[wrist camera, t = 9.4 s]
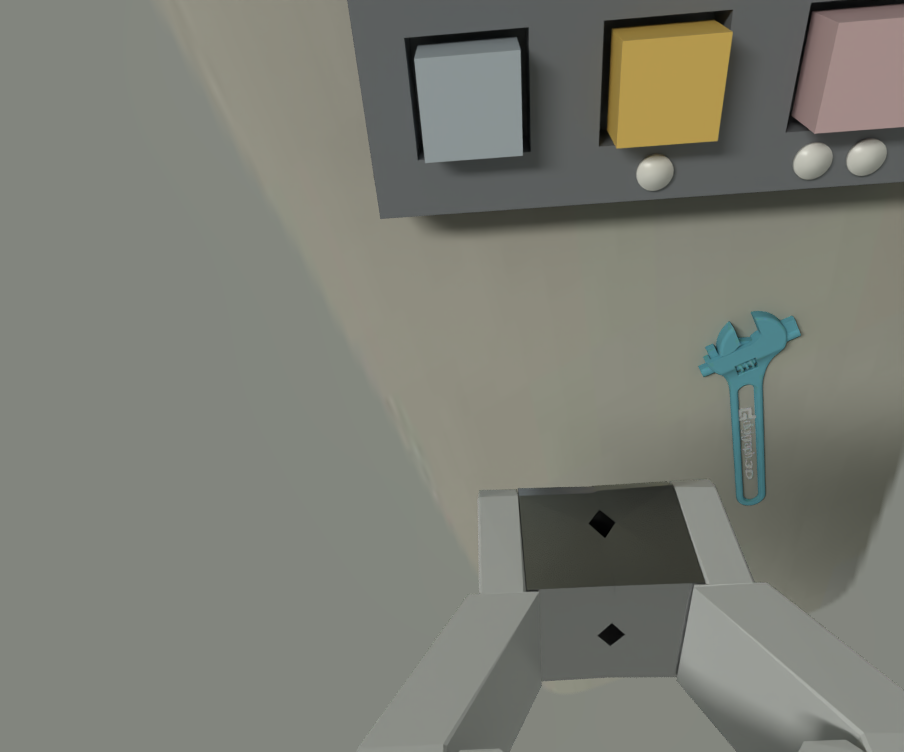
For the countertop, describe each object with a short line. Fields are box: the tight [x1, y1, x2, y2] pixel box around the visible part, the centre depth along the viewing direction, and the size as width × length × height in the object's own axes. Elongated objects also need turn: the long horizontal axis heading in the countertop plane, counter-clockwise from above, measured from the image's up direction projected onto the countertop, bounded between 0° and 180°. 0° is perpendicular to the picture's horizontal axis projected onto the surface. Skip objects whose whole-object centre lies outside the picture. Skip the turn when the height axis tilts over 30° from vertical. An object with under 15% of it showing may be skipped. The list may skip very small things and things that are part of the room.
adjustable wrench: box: [698, 311, 801, 505], centre depth 39 cm, size 14×1×5 cm
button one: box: [607, 20, 733, 149], centre depth 25 cm, size 4×4×2 cm
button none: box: [414, 37, 523, 163], centre depth 26 cm, size 4×4×2 cm
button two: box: [792, 3, 904, 134], centre depth 25 cm, size 4×4×2 cm
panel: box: [347, 0, 904, 219], centre depth 27 cm, size 22×9×3 cm, turn 95°
